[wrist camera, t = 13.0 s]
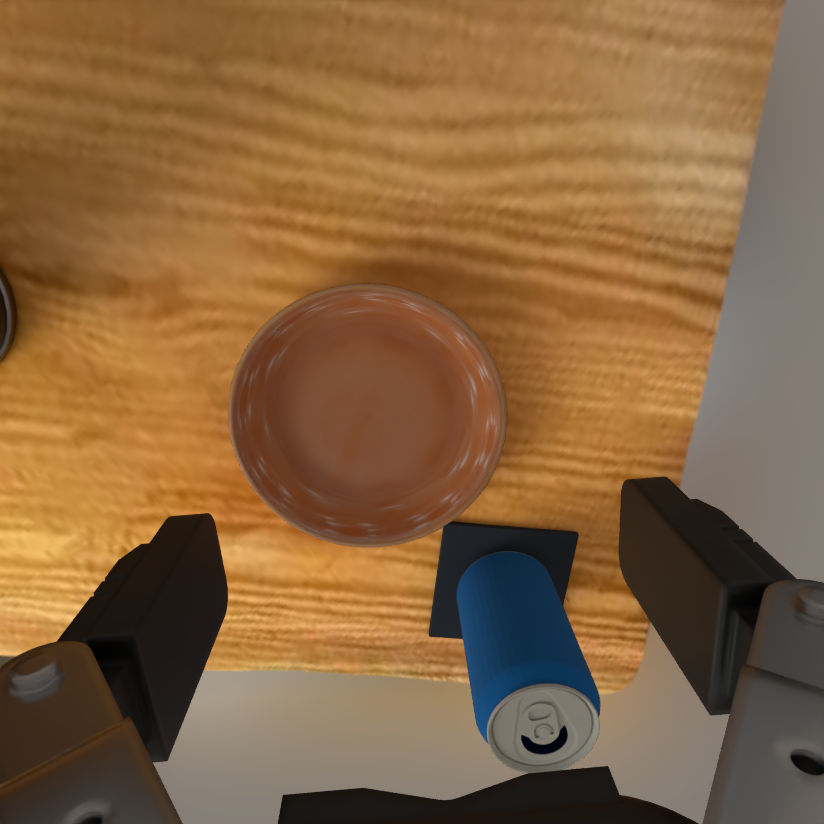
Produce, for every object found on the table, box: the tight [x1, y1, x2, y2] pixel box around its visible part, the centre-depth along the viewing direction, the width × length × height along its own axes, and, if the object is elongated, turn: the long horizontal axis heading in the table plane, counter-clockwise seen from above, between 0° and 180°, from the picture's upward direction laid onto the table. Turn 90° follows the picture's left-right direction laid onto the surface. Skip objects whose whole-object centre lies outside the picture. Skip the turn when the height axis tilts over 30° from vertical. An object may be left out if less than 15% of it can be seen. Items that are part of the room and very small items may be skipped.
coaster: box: [429, 522, 579, 639], centre depth 41 cm, size 9×9×1 cm
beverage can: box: [457, 551, 600, 773], centre depth 35 cm, size 6×6×12 cm
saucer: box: [228, 283, 507, 547], centre depth 36 cm, size 16×16×3 cm
